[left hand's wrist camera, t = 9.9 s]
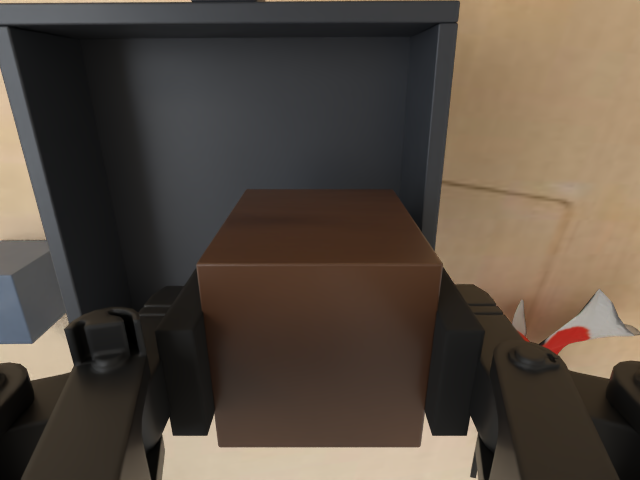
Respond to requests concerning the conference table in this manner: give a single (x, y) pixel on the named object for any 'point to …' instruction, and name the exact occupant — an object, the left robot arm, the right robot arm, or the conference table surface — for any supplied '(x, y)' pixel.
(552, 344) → the fish
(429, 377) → the left robot arm
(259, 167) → the tray
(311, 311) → the walnut block
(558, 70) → the conference table surface
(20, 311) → the slate block
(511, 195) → the conference table surface
